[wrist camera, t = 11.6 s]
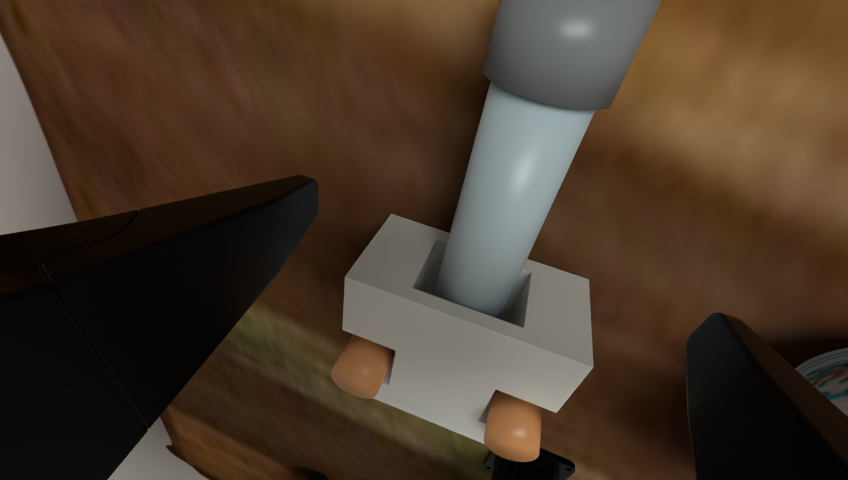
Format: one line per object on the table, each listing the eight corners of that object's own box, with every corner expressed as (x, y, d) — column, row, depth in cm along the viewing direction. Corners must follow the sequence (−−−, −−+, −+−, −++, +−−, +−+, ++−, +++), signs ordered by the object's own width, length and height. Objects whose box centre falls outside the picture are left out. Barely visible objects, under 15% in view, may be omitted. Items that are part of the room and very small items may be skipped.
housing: (528, 375, 27) (519, 458, 23) (376, 318, 29) (339, 384, 24) (588, 279, 21) (593, 367, 16) (391, 213, 23) (344, 276, 18)
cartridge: (507, 301, 23) (495, 363, 19) (435, 276, 23) (411, 331, 20) (648, -6, 13) (677, 6, 9) (517, -34, 13) (497, -35, 10)
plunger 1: (392, 368, 23) (375, 404, 21) (350, 351, 23) (330, 386, 21) (397, 340, 21) (380, 378, 19) (352, 323, 22) (331, 358, 20)
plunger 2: (532, 423, 22) (528, 468, 20) (485, 405, 22) (477, 447, 20) (550, 399, 20) (547, 445, 18) (499, 380, 20) (492, 423, 18)
